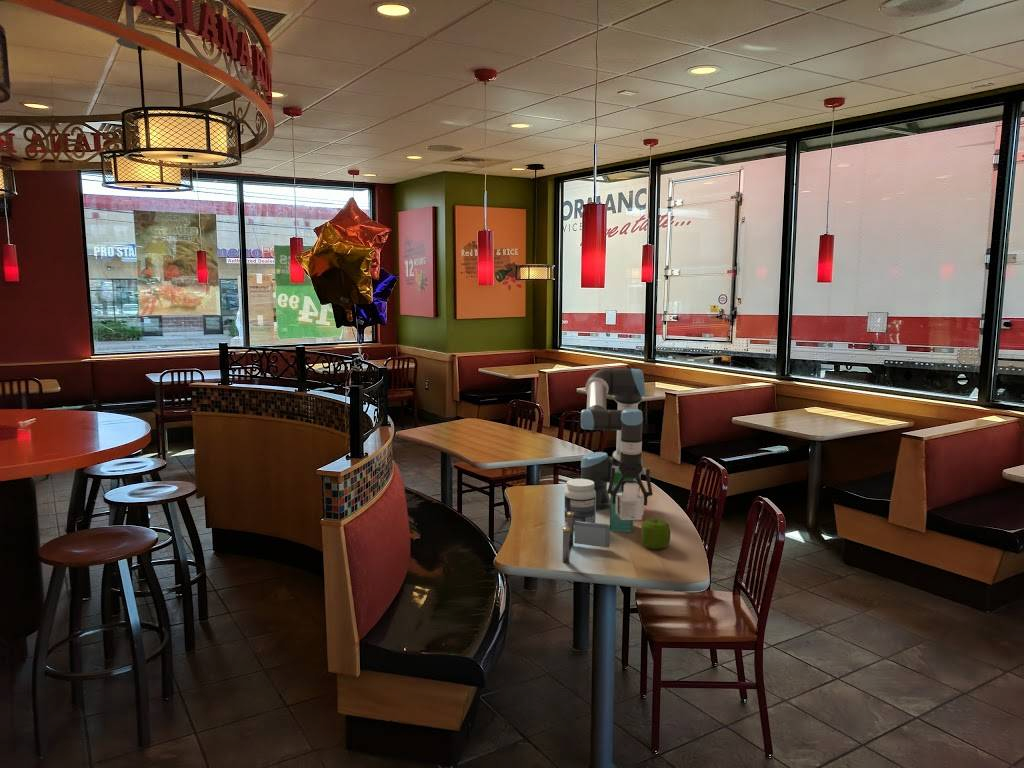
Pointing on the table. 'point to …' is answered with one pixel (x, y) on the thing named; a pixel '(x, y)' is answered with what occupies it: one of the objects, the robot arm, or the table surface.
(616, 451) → the robot arm
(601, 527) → the gate
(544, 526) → the table surface
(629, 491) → the container
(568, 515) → the gate posts
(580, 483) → the supplement tub
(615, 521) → the milk carton
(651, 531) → the apple
